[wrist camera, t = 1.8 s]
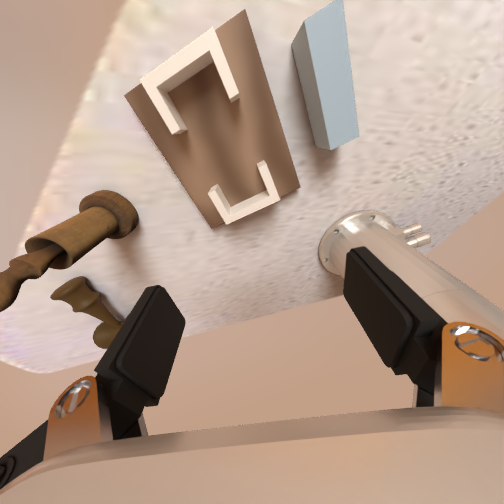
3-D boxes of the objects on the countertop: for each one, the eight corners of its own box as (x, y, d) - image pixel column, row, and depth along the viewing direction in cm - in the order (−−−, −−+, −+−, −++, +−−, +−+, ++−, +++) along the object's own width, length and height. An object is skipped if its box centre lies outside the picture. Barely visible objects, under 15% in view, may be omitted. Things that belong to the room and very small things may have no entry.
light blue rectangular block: (319, 26, 18) (342, -5, 14) (338, 135, 23) (359, 136, 19) (290, 45, 19) (304, 20, 15) (315, 147, 24) (330, 150, 20)
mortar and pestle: (79, 203, 27) (-134, 298, 12) (111, 181, 25) (-87, 256, 10) (118, 238, 30) (-9, 348, 15) (148, 220, 28) (40, 322, 13)
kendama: (97, 265, 33) (166, 328, 43) (60, 281, 35) (134, 338, 45) (69, 288, 28) (154, 354, 38) (28, 305, 30) (119, 363, 40)
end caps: (217, 41, 17) (213, 26, 15) (276, 193, 25) (280, 199, 23) (153, 86, 19) (139, 79, 16) (227, 215, 27) (226, 224, 24)
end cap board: (244, 17, 18) (244, 8, 16) (297, 184, 26) (300, 187, 25) (131, 97, 20) (123, 95, 19) (213, 224, 29) (211, 228, 28)
